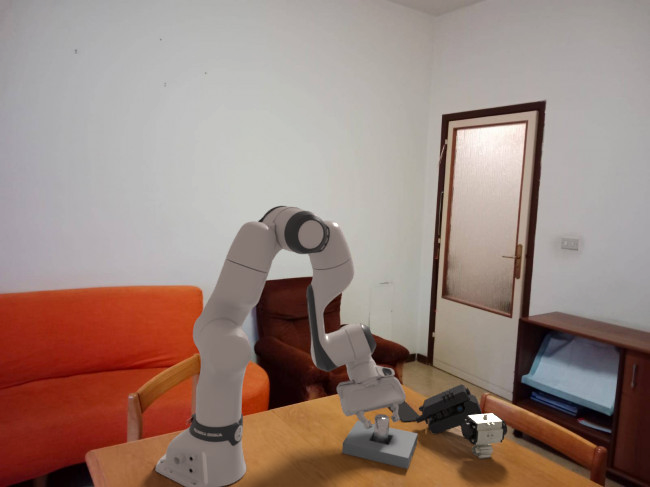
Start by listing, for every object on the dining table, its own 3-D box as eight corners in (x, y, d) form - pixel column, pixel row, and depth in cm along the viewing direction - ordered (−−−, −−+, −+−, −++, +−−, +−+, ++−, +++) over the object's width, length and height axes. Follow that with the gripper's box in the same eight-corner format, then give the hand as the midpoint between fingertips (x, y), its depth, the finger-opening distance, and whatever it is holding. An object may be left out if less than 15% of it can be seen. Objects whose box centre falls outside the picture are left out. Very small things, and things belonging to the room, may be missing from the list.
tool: (492, 433, 139) (469, 387, 139) (431, 455, 144) (409, 411, 144) (489, 423, 145) (467, 379, 145) (431, 445, 150) (410, 402, 150)
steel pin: (371, 449, 133) (373, 419, 132) (375, 443, 136) (376, 413, 136) (385, 453, 131) (387, 422, 130) (388, 446, 135) (390, 416, 134)
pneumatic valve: (458, 453, 133) (461, 412, 132) (495, 449, 136) (498, 408, 135) (469, 464, 128) (472, 421, 127) (507, 459, 131) (511, 418, 130)
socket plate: (342, 453, 130) (342, 442, 130) (356, 430, 144) (357, 420, 143) (407, 469, 124) (408, 458, 124) (416, 443, 137) (417, 433, 137)
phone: (402, 421, 150) (383, 400, 164) (402, 423, 150) (382, 402, 164) (423, 419, 152) (402, 398, 166) (423, 421, 152) (402, 401, 166)
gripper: (339, 378, 133) (356, 428, 125) (397, 368, 143) (417, 413, 135) (330, 388, 137) (346, 436, 130) (387, 377, 147) (405, 421, 140)
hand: (383, 424), depth 133 cm, fingers open, 8 cm apart
